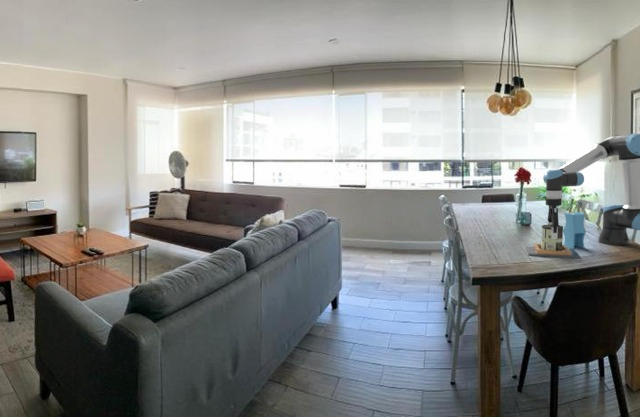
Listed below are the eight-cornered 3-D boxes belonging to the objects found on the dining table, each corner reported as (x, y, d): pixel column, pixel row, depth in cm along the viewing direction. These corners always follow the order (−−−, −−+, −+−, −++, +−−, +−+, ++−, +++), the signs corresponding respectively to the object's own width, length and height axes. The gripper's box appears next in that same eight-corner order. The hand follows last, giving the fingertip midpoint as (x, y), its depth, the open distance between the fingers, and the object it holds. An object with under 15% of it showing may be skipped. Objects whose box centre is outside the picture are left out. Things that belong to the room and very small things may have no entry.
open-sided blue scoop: (574, 245, 238) (575, 212, 235) (584, 247, 230) (586, 213, 227) (562, 246, 236) (563, 212, 234) (572, 248, 229) (574, 214, 226)
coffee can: (557, 248, 225) (559, 224, 223) (565, 253, 215) (566, 227, 213) (538, 248, 227) (539, 224, 225) (544, 253, 217) (545, 227, 215)
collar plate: (573, 250, 224) (573, 245, 224) (579, 258, 209) (580, 252, 208) (525, 248, 233) (525, 243, 233) (528, 255, 218) (528, 249, 217)
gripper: (542, 195, 230) (541, 231, 233) (549, 200, 207) (548, 240, 210) (557, 195, 227) (556, 232, 230) (566, 200, 204) (564, 241, 207)
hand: (552, 236), depth 220 cm, fingers open, 13 cm apart
